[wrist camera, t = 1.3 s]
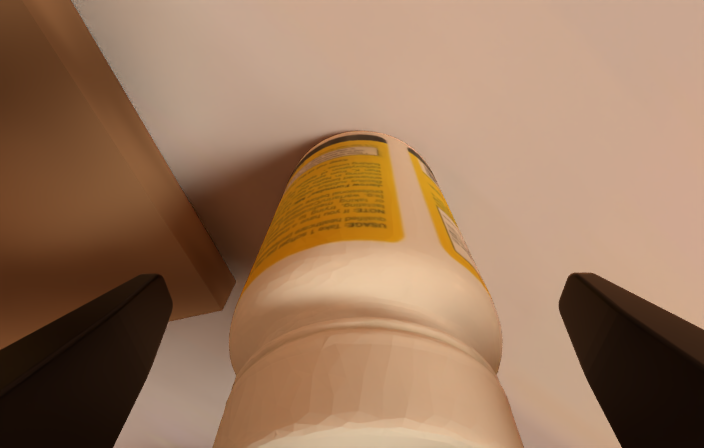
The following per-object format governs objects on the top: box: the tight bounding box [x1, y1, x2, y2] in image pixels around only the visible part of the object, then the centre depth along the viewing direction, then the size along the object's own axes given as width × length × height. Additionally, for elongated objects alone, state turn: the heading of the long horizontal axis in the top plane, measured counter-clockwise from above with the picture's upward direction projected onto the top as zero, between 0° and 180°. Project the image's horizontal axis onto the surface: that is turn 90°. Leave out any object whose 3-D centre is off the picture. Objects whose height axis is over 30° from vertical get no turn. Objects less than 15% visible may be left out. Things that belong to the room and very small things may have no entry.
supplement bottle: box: [213, 131, 524, 448], centre depth 8 cm, size 5×5×8 cm
